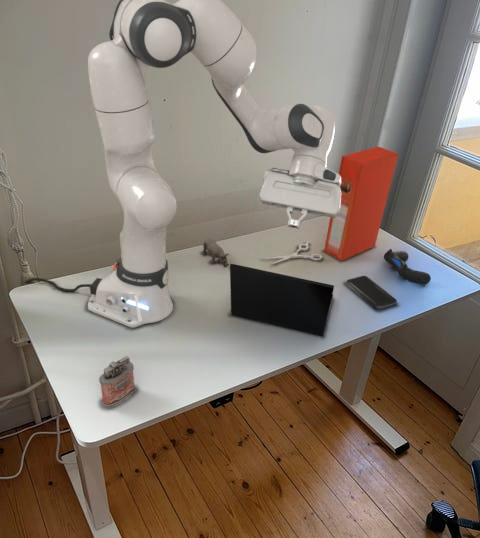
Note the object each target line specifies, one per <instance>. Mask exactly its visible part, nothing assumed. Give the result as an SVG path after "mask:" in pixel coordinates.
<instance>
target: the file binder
mask: <svg viewBox="0 0 480 538" xmlns="http://www.w3.org/2000/svg"><path fill="white" fill-rule="evenodd" d="M398 157H399V153H398V152H395V151H392V150H389V149H386V148H384V147H381V146H375V147H371V148H368V149H365V150H360V151H356V152H352V153H348V154H346V155H342V156H341V159H340V160H341V161H340V165H339V169H338V174H339V175H340V176H341V185H340V189H341V203H340V210H339V215H338V216H337V217H335V218H331V217H329V223H328V228H327V233H326V238H325V244H324V250H323V252H325V253H326V254H328V255H330V256H332V257H333V258H335V259H336V260H339V261H340V262H341V261H342V262H343V261H346V260H348V259H350V258H351V257H354V256H356V255H358V254H361V253H363V252H365V251H367V250H369V249H372V248H375V246H376V243H377V239H378V235H379V231H380V228H381V224H382V220H383V216H384V212H385V208H386V204H387V202H388V201H387V200H388V196H389V192H390V189H391V185H392V181H393V178H394V174H395V171H396V170H395V169H396V166H397V161H398Z"/></svg>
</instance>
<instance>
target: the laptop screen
mask: <svg viewBox="0 0 480 538" xmlns="http://www.w3.org/2000/svg"><path fill="white" fill-rule="evenodd" d="M229 285H230V287H229V288H230V313H231V314H232V313H235V314H239V315H244V316H248V317H252V318H257V319H261V320H265V321H270V322H274V323H278V324H283V325H287V326H291V327H296V328H300V329H304V330H309V331H313V332H317V333H322V334H325V332H326V331H325V330H326V327H327V323H326V322H328V319H327V317H328V318H329V315H328V312H329V313H330V311H329V308H330V309H331V307H330V303H331V299H332V294H333V293H334V289H335V285H334V284H329V283H324V282H319V281H315V280H311V279H306V278H302V277H297V276H292V275H287V274H281V273H278V272H273V271H268V270H264V269H259V268H254V267H249V266H244V265H240V264H235V263H229ZM333 295H334V294H333ZM332 300H333V299H332ZM331 304H332V303H331ZM325 326H326V327H325Z"/></svg>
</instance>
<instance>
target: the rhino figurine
mask: <svg viewBox="0 0 480 538" xmlns="http://www.w3.org/2000/svg"><path fill="white" fill-rule="evenodd" d="M202 245H203V248H202V253H201V254H202V255H207V254H208V255H210V256H211V260H210V264H215V263H216V259H217V262H218V263H219V264H221V265H222V266H223V268H227V267H228V266H230V263H228V259H227V256H229V253H225V252H224V249H223V248H222V247H221V246H220V244H218V243H217V242H216V240H215V239H214V238H210V237H209V238H207V239H205V240H204V242H203V244H202Z"/></svg>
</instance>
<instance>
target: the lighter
mask: <svg viewBox="0 0 480 538" xmlns="http://www.w3.org/2000/svg"><path fill="white" fill-rule="evenodd" d="M134 366H135V365H134V364H133V362H131V360H130V357H129V356H128V355H125V356H124V357H122V358H120V359H118V360H117V361H111V362H110V363H109V365H108V366H107V367H105V368H103V373H102V374H101V375H100V376H99V377H98V381H99V382H98V383H99V384H100V390H101V398H102V400H101V402H102V407H104V408H106V409H111V408H113V407H115V406H118V405H119V404H122V403H124V402H126V400H128V399H129V398H130V397H132V396H133V395H134V394H135V393H136V386H135V377H134V369H135V367H134Z"/></svg>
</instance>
